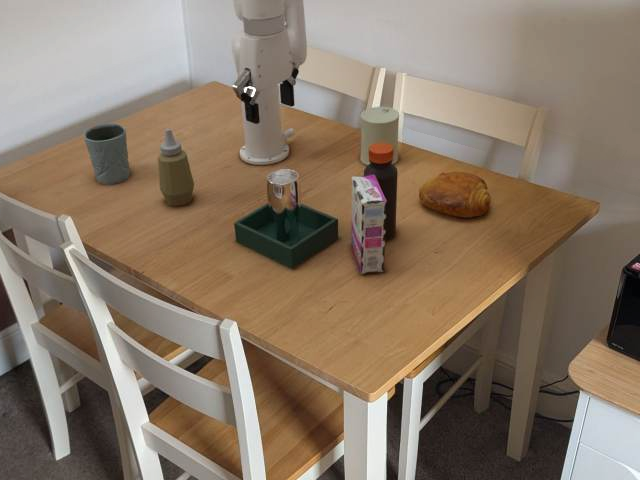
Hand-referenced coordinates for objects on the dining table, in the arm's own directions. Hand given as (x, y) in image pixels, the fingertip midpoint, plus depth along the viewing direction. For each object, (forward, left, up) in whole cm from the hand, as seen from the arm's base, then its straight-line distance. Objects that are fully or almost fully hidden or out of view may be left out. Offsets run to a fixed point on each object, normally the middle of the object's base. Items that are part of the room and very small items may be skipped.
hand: (270, 113), depth 155 cm
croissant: (-34, +22, -29) cm, 50 cm away
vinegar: (-14, +16, -29) cm, 36 cm away
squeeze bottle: (+3, -30, -29) cm, 41 cm away
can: (-41, -5, -29) cm, 50 cm away
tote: (0, +2, -28) cm, 28 cm away
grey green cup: (+5, -53, -29) cm, 60 cm away
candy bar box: (-5, +20, -29) cm, 35 cm away
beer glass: (0, +2, -28) cm, 28 cm away
